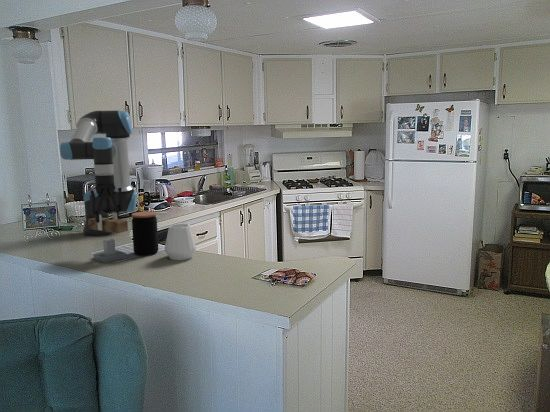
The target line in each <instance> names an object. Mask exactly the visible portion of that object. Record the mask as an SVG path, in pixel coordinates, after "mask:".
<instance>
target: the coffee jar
mask: <svg viewBox="0 0 550 412" xmlns="http://www.w3.org/2000/svg"><path fill="white" fill-rule="evenodd" d="M131 217H132V219H131V229H132V230H131V231H132V243H133V244H132V245H133V246H132V247H133V248H132V249H133V253H134V254H135V255H136V256H139V257H145V256H146V257H148V256H152V255H153V256H154V255H156V254H157V253H158V251H159V239H158V238H159V237H158V235H159V234H158V218H157V212H156V211H137V212H134V213H133V212H132V213H131Z"/></svg>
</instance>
